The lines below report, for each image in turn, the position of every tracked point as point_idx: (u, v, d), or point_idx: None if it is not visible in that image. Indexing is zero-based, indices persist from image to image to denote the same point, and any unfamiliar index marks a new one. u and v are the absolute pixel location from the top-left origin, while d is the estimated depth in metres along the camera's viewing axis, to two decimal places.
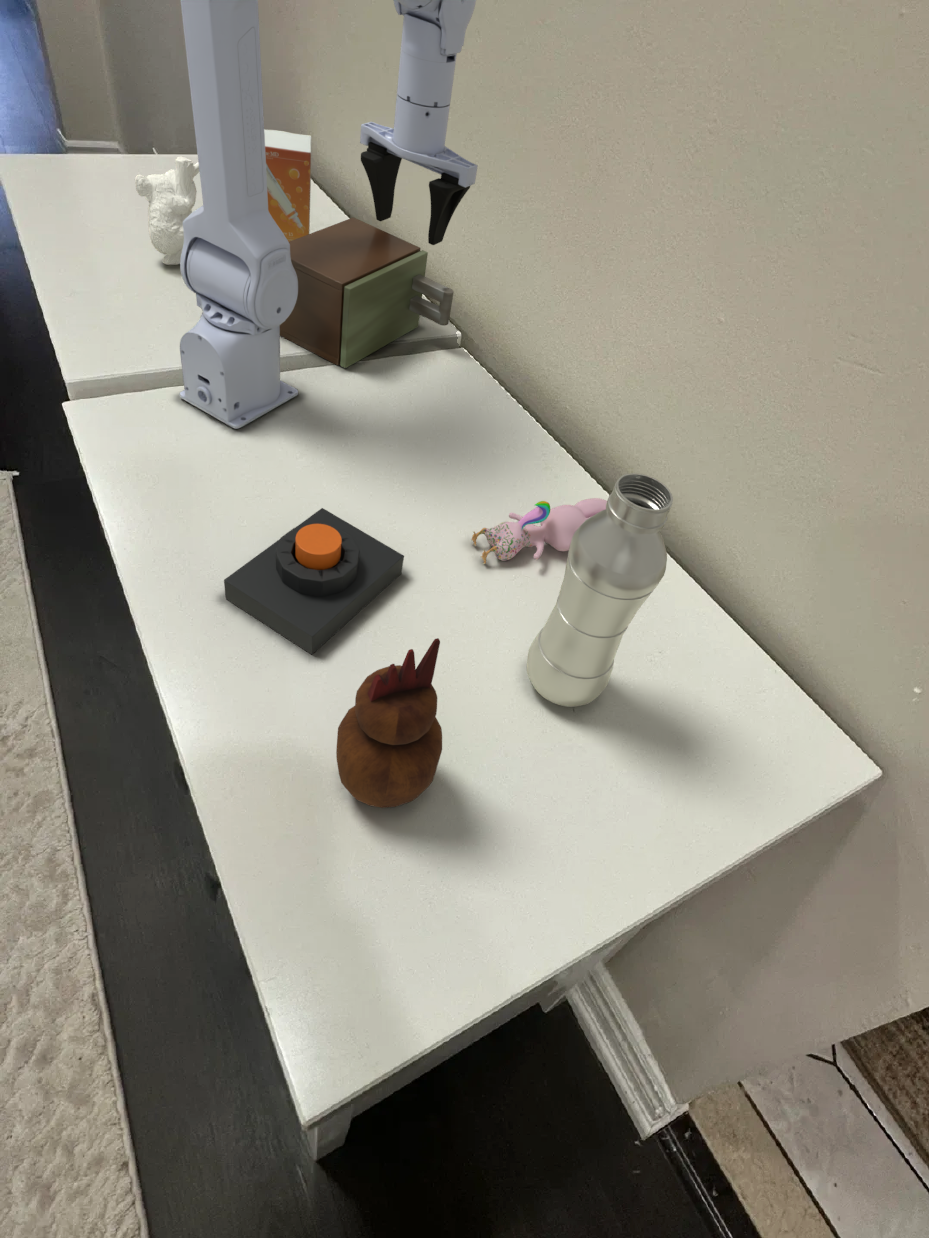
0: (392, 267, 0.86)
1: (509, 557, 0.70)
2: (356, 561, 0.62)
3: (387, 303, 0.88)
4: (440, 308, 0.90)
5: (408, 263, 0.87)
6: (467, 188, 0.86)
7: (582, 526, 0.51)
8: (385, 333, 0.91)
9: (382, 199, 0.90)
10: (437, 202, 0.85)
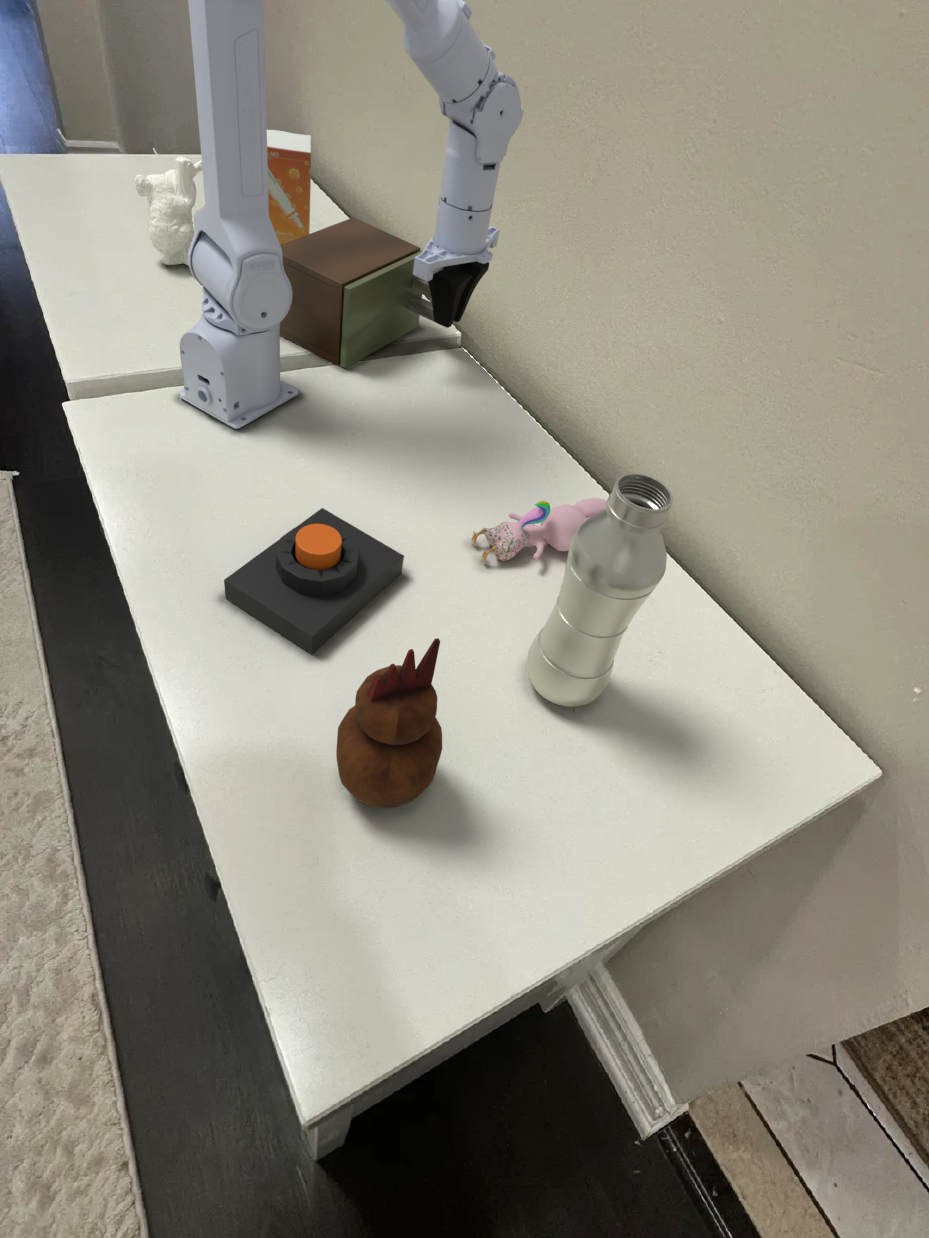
0: (392, 267, 0.86)
1: (509, 557, 0.70)
2: (356, 561, 0.62)
3: (387, 303, 0.88)
4: None
5: (408, 263, 0.87)
6: (454, 283, 0.84)
7: (582, 526, 0.51)
8: (385, 333, 0.91)
9: None
10: None
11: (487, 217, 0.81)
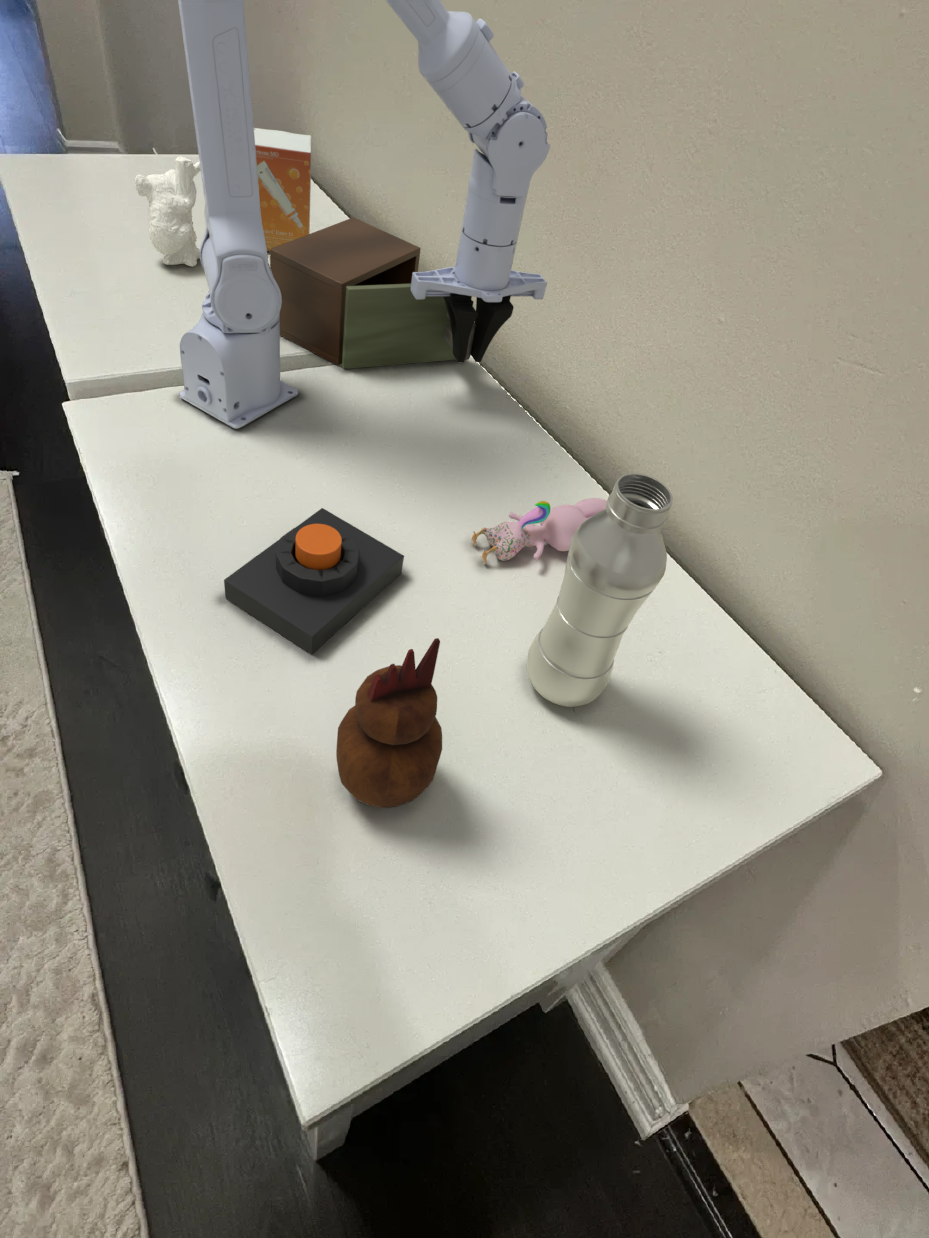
0: None
1: (509, 557, 0.70)
2: (356, 561, 0.62)
3: (408, 320, 0.86)
4: None
5: None
6: (454, 313, 0.80)
7: (582, 526, 0.51)
8: (405, 351, 0.89)
9: (475, 334, 0.85)
10: None
11: (498, 254, 0.75)
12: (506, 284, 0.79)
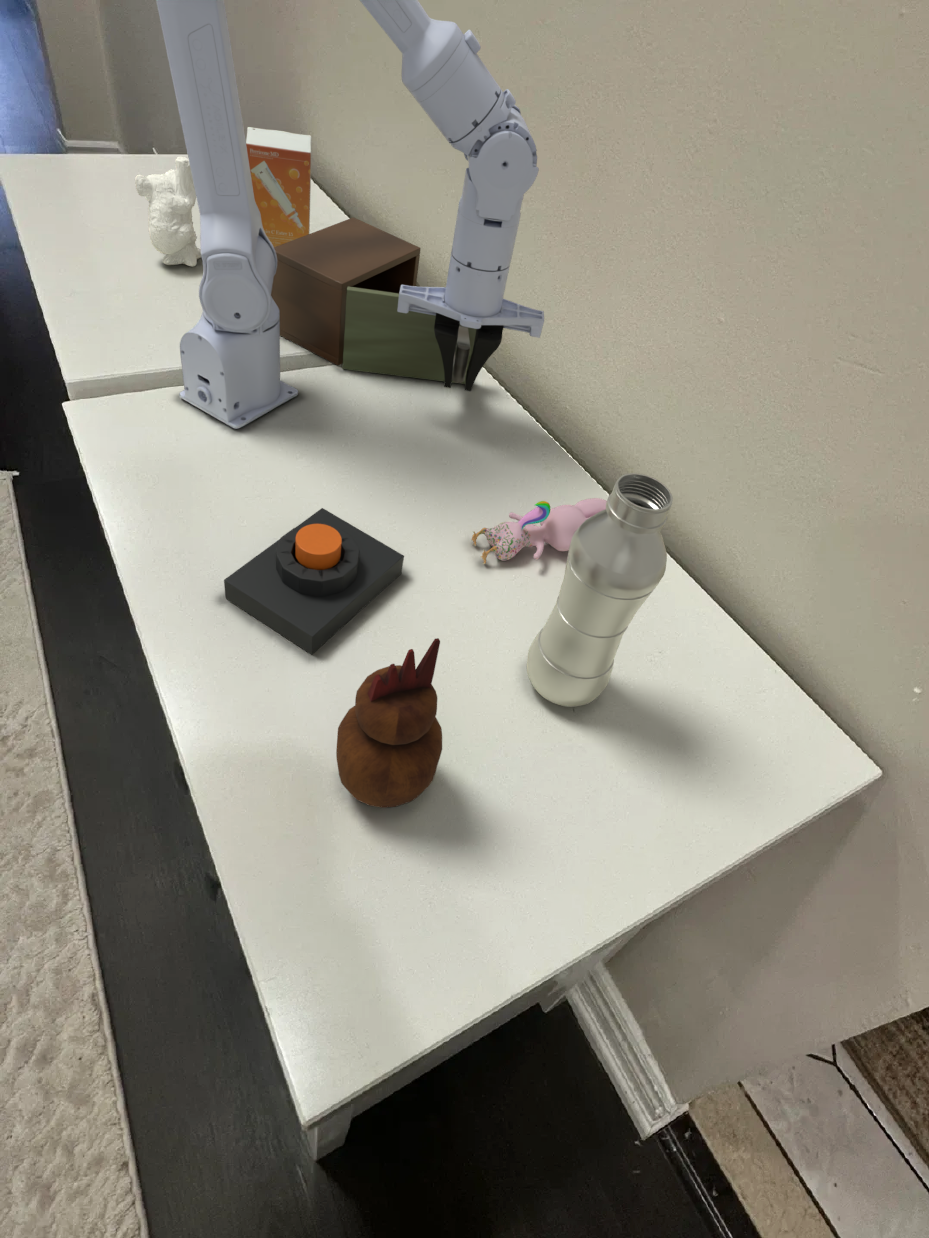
0: None
1: (509, 557, 0.70)
2: (356, 561, 0.62)
3: (411, 333, 0.84)
4: (454, 362, 0.83)
5: None
6: None
7: (582, 526, 0.51)
8: (408, 364, 0.87)
9: (470, 361, 0.81)
10: None
11: (479, 279, 0.71)
12: (492, 313, 0.75)
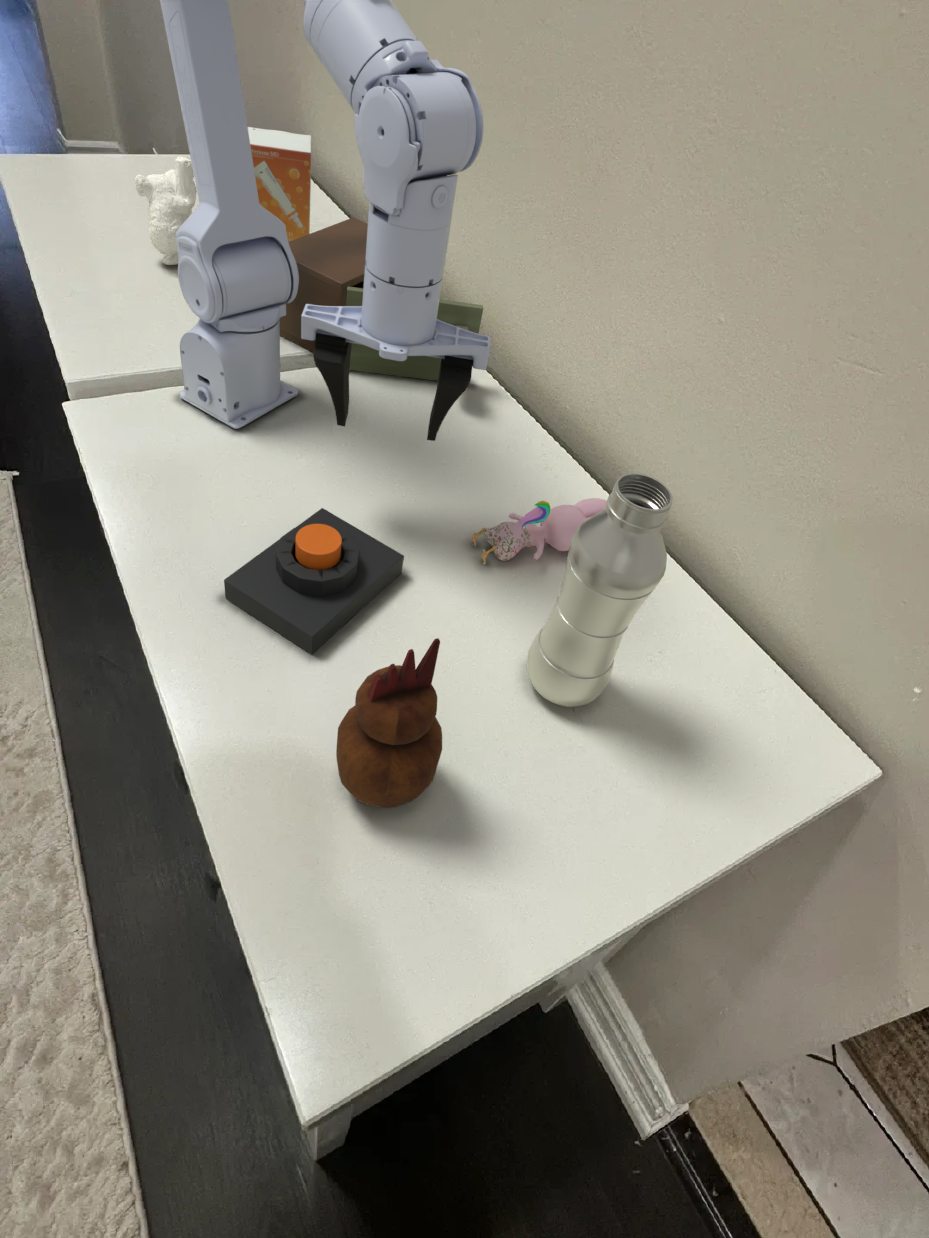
0: None
1: (509, 557, 0.70)
2: (356, 561, 0.62)
3: None
4: None
5: (447, 305, 0.82)
6: None
7: (582, 526, 0.51)
8: (408, 364, 0.87)
9: (433, 404, 0.65)
10: None
11: (401, 297, 0.54)
12: (422, 340, 0.58)
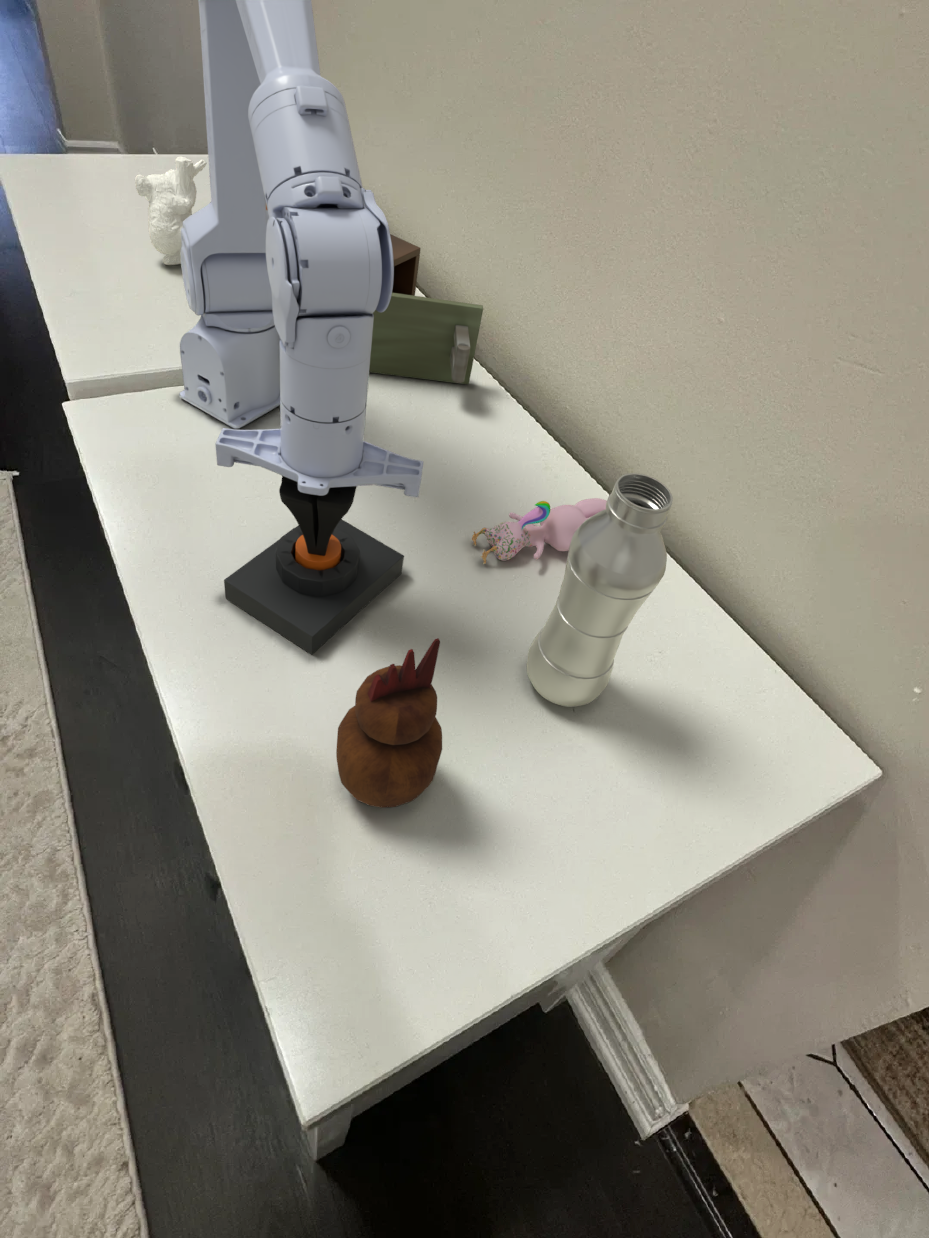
0: (422, 299, 0.82)
1: (509, 557, 0.70)
2: (356, 561, 0.62)
3: (411, 333, 0.84)
4: (454, 362, 0.83)
5: (447, 305, 0.82)
6: None
7: (582, 526, 0.51)
8: (408, 364, 0.87)
9: None
10: None
11: (317, 432, 0.50)
12: (346, 471, 0.53)
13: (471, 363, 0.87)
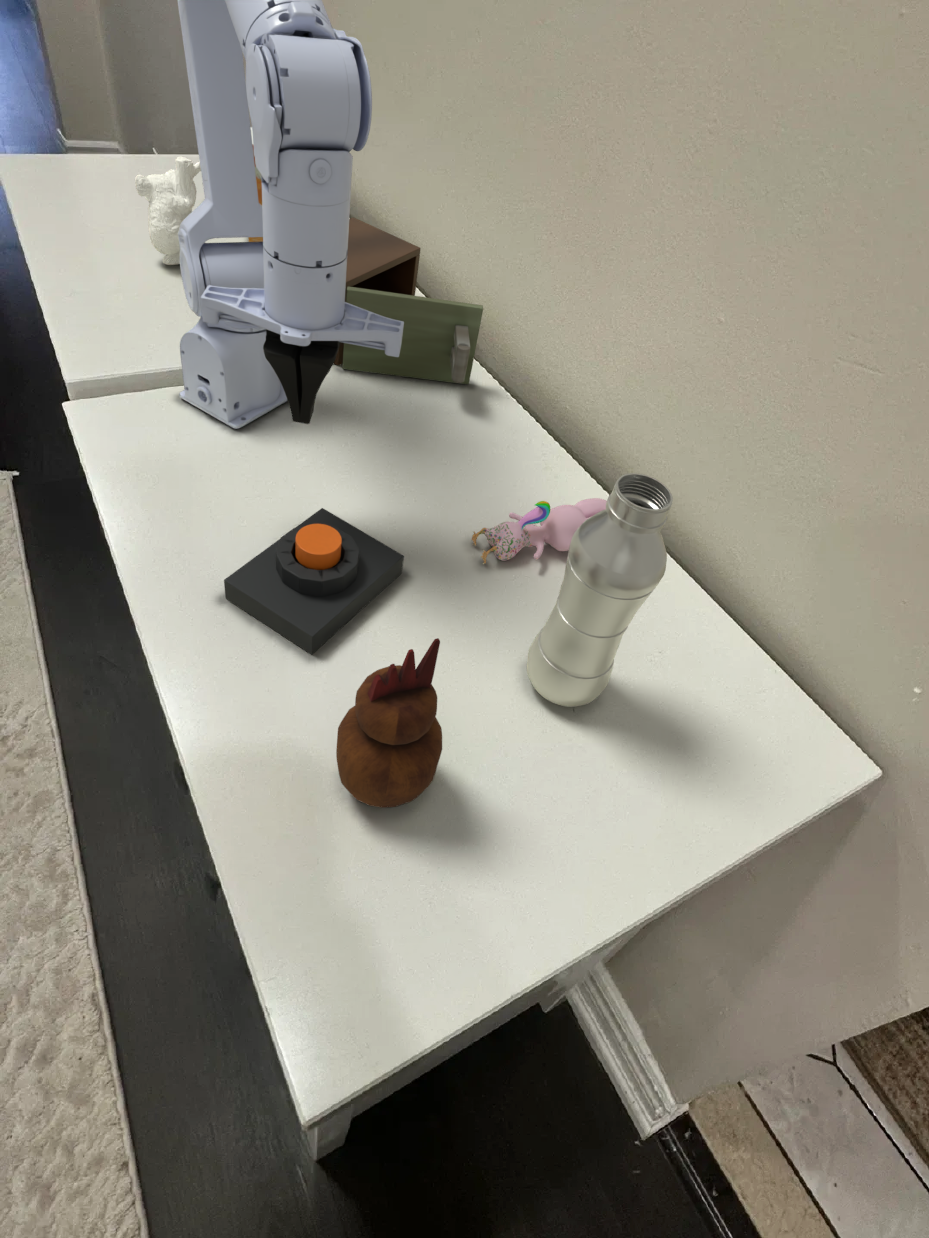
0: (422, 299, 0.82)
1: (509, 557, 0.70)
2: (356, 561, 0.62)
3: (411, 333, 0.84)
4: (454, 362, 0.83)
5: (447, 305, 0.82)
6: None
7: (582, 526, 0.51)
8: (408, 364, 0.87)
9: None
10: None
11: (299, 278, 0.52)
12: (327, 324, 0.55)
13: (471, 363, 0.87)
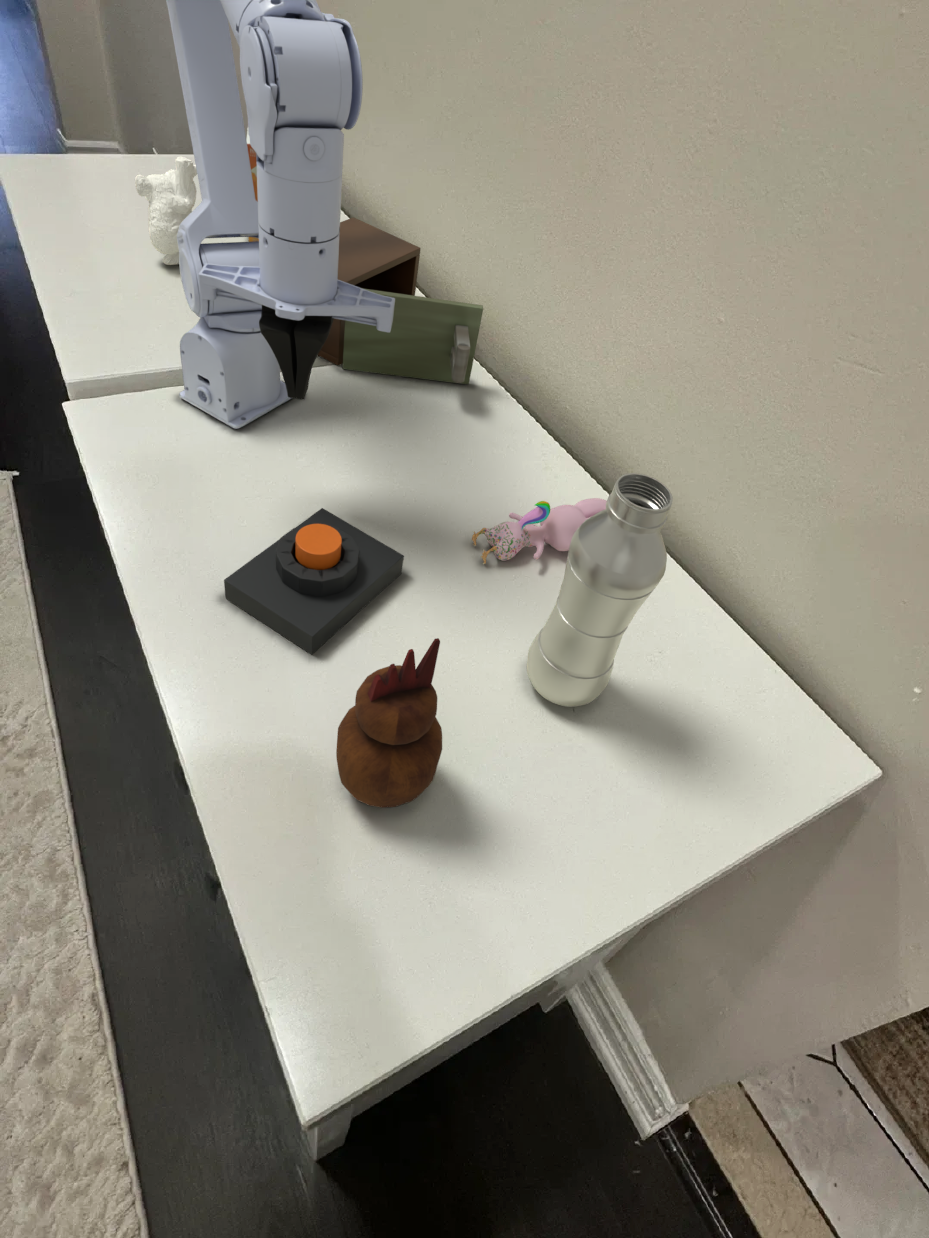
0: (422, 299, 0.82)
1: (509, 557, 0.70)
2: (356, 561, 0.62)
3: (411, 333, 0.84)
4: (454, 362, 0.83)
5: (447, 305, 0.82)
6: None
7: (582, 526, 0.51)
8: (408, 364, 0.87)
9: None
10: None
11: (293, 253, 0.54)
12: (321, 299, 0.57)
13: (471, 363, 0.87)
